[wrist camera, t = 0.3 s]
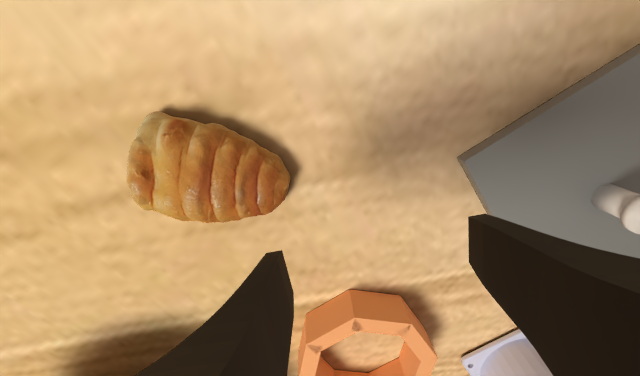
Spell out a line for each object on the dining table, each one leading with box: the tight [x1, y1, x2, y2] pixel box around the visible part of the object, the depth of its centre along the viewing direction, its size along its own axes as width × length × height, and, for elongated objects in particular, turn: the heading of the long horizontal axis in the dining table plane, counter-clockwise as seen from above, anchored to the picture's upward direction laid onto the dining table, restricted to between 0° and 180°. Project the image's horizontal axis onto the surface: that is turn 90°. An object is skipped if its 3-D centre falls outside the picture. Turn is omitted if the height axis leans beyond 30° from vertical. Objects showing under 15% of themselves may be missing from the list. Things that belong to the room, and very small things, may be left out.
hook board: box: [457, 44, 640, 258], centre depth 20 cm, size 16×14×4 cm
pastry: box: [127, 111, 290, 223], centre depth 19 cm, size 9×7×4 cm
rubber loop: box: [298, 289, 438, 376], centre depth 25 cm, size 10×10×3 cm
